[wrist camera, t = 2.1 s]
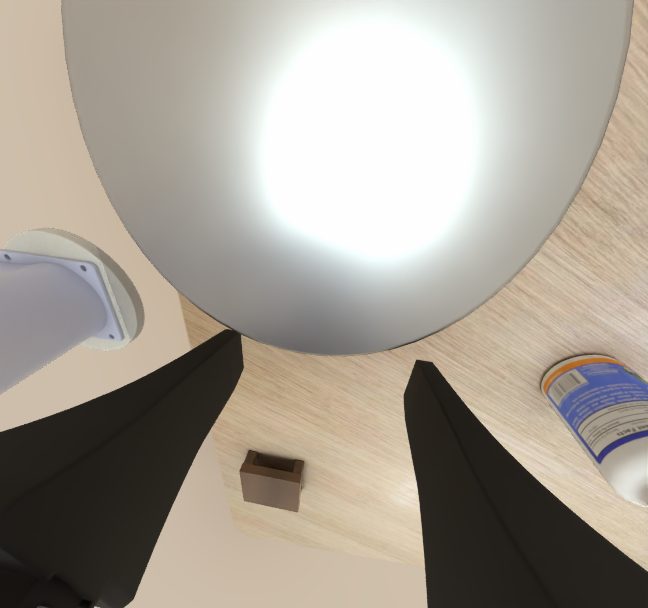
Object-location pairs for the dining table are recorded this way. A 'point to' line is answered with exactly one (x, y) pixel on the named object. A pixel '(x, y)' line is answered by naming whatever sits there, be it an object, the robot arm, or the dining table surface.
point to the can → (343, 150)
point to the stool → (271, 484)
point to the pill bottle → (605, 418)
